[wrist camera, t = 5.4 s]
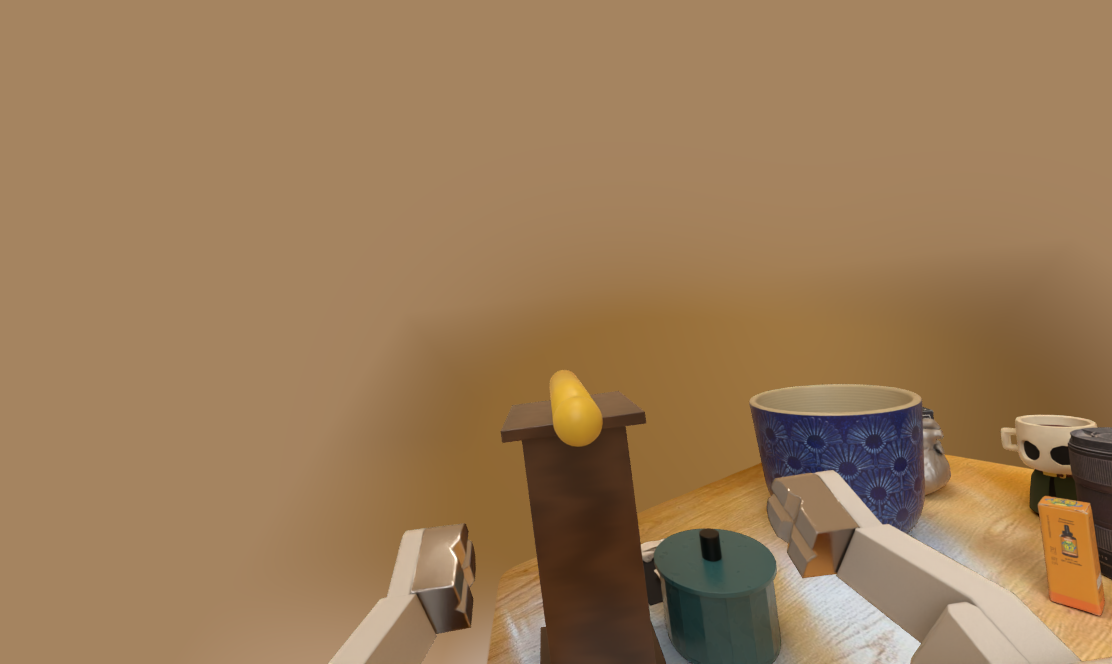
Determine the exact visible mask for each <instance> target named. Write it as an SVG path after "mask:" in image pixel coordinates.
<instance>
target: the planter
mask: <svg viewBox="0 0 1112 664" xmlns="http://www.w3.org/2000/svg"><path fill="white" fill-rule="evenodd" d="M750 408H751V413H752V418H753V423H754V427H755V432H756V437H757V442H758V447H759V452H760V457H761V462H762V466H763V471H764V476H765V480H766V484H767V487H768V490H769V493H770V495H771V496H772V495H773V494H774V492H773V491H772V489H771V484H772V481H773V480H774V479H775V478H780V477H786V476H792V475H799V474H805V473H816V472H822V471H828V470H833V471H835V472H837V473H838V474H839V475H840V476H841V477H842V478H843V480H844V481H845V482H846V483H847V484H848V485H849V486H850V488H851V489H852V490H853V491H854V492H855V493H856V495H857V496H858V497H859V498H860V499H861V500H862V501H863V503H864V504H865V505H866V506H867V507H868V508H869V509H870V511H871V512H872V513H873V514H874V515H875V516H876V518H877V519H878V520H879V521H880V522H881V523H882V524H890V525H891V526H893V527H895V528H897V529H899V530H900V531H902V532H904V533H906V534H907V533H908V532H909V531H910V530H911V529H912V528H913V527H914V526H915V525H916V523H917V522H918V520H919V518H920V515H921V513H922V509H923V505H924V499H925V473H924V445H923V416H922V399H921V397H920V396H919V395H917V394H915V393H913V392H911V391H908V390H904V389H899V388H892V387H885V386H874V385H855V384H835V385H834V384H830V385H810V386H797V387H789V388H782V389H776V390H771V391H767V392H763V393H760V394H758V395H755V396H754V397H752V398H751V399H750Z"/></svg>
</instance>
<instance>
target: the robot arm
mask: <svg viewBox="0 0 1112 664" xmlns="http://www.w3.org/2000/svg"><path fill="white" fill-rule="evenodd" d="M771 489H772V491H773V492H774V494H773V495H772V496H771V497H770V498H769V499H768V502H767V513H768V518H769V521H770V523H771V526H772V528H773V530H774V531H775V533H776V535H777V536H778V537H779V538H781V539H782V540H784V541H785V542H787V543H788V548H787V553H788V555H789V557H790V558H791V560H792V561H793V563H794V565H795V566H796V568H797V570H798V571H799V573H800V575H801V576H802V578H806V577H815V576H823V575H832V574H837V575H836V576H837V577H838V578H840V579H841V580H842V581H843V582H845V583H846V584H847V585H848V586H850V587H851V588H852V589H853V590H855V591H856V592H857V593H858V594H860V595H861V596H862V597H863V598H865V599H866V600H867V601H868V602H870V603H871V604H872V605H874V606H875V607H876V608H877V609H879V610H880V611H881V612H882V613H884V614H885V615H886V616H887V617H889V618H890V619H891V620H892V621H894V622H895V623H896V624H897V625H899V626H900V627H901V628H902V629H904V630H905V631H906V632H908V633H909V634H910V635H911V636H913V637H914V638H915V639H916V640H918V641H919V642H920V643H921V645H920V646H919V648H918V649H917V651H916V652H915V653H914V655H913V656H912V658H911V663H910V664H1112V657H1107V658H1101V659H1094V660H1088V661H1081V660H1080V659H1079V658H1078V657H1077V656H1076V655H1075V654H1074V653H1073V652H1072V651H1071V650H1070V649H1069V648H1068V647H1067V646H1066V645H1065V644H1064V643H1063V642H1062V641H1061V640H1060V639H1059V638H1058V637H1057V636H1056V635H1055V634H1054V633H1053V632H1052V631H1051V630H1050V629H1049V628H1048V627H1047V626H1046V625H1045V624H1044V623H1043V622H1042V621H1041V620H1040V619H1039V618H1038V617H1037V616H1036V615H1035V614H1034V613H1033V612H1032V611H1031V610H1030V609H1029V608H1028V607H1027V606H1026V605H1025V604H1024V603H1023V602H1022V601H1021V600H1020V599H1019V598H1018V597H1017V596H1016V595H1015V594H1014V593H1013V592H1011V591H1009V590H1007V589H1005V588H1004V587H1002V586H1000V585H998V584H996V583H994V582H993V581H991V580H989V579H987V578H985V577H984V576H982V575H980V574H978V573H976V572H975V571H973V570H971V569H969V568H967V567H966V566H964V565H962V564H960V563H958V562H956V561H955V560H953V559H951V558H949V557H947V556H946V555H944V554H942V553H940V552H938V551H937V550H935V549H933V548H931V547H929V546H928V545H926V544H924V543H922V542H920V541H918V540H917V539H915V538H913V537H911V536H909V535H908V534H906V533H904V532H902V531H900V530H899V529H897V528H895V527H893V526H891V525H890V524H882V523H881V522H880V521H879V520H878V519H877V518H876V516H875V515H874V514H873V513H872V512H871V511H870V509H869V508H868V507H867V506H866V505H865V504H864V503H863V501H862V500H861V499H860V498H859V497H858V496H857V495H856V493H855V492H854V491H853V490H852V489H851V488H850V486H849V485H848V484H847V483H846V482H845V481H844V480H843V478H842V477H841V476H840V475H839V474H838V473H837V472H835V471H833V470H828V471H822V472H816V473H805V474H799V475H792V476H786V477H780V478H775V479H774V480H773V481H772V484H771ZM475 570H476V567H475V552H474V547H473V544H472V542H471V541H469V540H468V529H467V526H466V524H457V525H448V526H441V527H432V528H423V529H416V530H409V531H406V532H405V534H404V535H403V537H402V540H401V544H400V548H399V552H398V555H397V560H396V563H395V568H394V571H393V575H392V579H391V583H390V587H389V591H388V595H387V598H382V599H380V600H379V601H378V603H377V604H376V605H375V606H374V608H373V609H372V610H371V611H370V612H369V614H368V615H367V616H366V617H365V619H364V620H363V621H362V622H361V624H360V625H359V626H358V627H357V628H356V630H355V631H354V632H353V633H352V635H351V636H350V637H349V638H348V639H347V641H346V642H345V643H344V644H343V646H342V647H341V648H340V649H339V651H338V652H337V653H336V654H335V656H334V657H333V658H332V659H331V660H330V662H329V663H328V664H421V663H422V661H423V659H424V658H425V656H426V654H427V652H428V651H429V649H430V647H431V645H432V644H433V642H434V640H435V638H436V634H438V633H444V632H449V631H455V630H460V629H466V628H471V620H472V608H473V597H472V594H471V591H470V587H471V585H472V584H473V582H474V581H475Z"/></svg>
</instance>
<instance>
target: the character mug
mask: <svg viewBox="0 0 1112 664" xmlns="http://www.w3.org/2000/svg"><path fill="white" fill-rule="evenodd" d="M1015 426H1016V429H1014V428H1002V429H1001V438H1002V445H1003V447H1004V448H1005V449H1007V450H1011V451H1018V452H1019V457H1020V459H1021V460H1022V462H1023V463H1024V464H1026V465H1027V466H1029V467H1032V468H1034V469H1035V470H1034V472H1033V473H1032V475H1031V486H1030V508H1031V509H1032V510H1033V511H1035V512H1036V513H1039V511H1038V503H1039V502H1040V500H1041V499H1042V498H1043V497H1044V496H1050V497H1056V498H1062V499H1068V500H1074V501H1077V495H1076V487H1075V481H1074V479H1073V476H1072V472H1071V466H1070V458H1069V448H1068V442H1069V439H1070V438H1071V435H1070V432H1071V431H1073V430H1076V429H1083V428H1097V425H1096V423H1095V422H1093V421H1091V420H1087V419H1083V418H1077V417H1070V416H1058V415H1028V416H1022V417H1017V418H1016V419H1015ZM1010 435H1017V443H1018V445H1015V444H1011V438H1010Z"/></svg>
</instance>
